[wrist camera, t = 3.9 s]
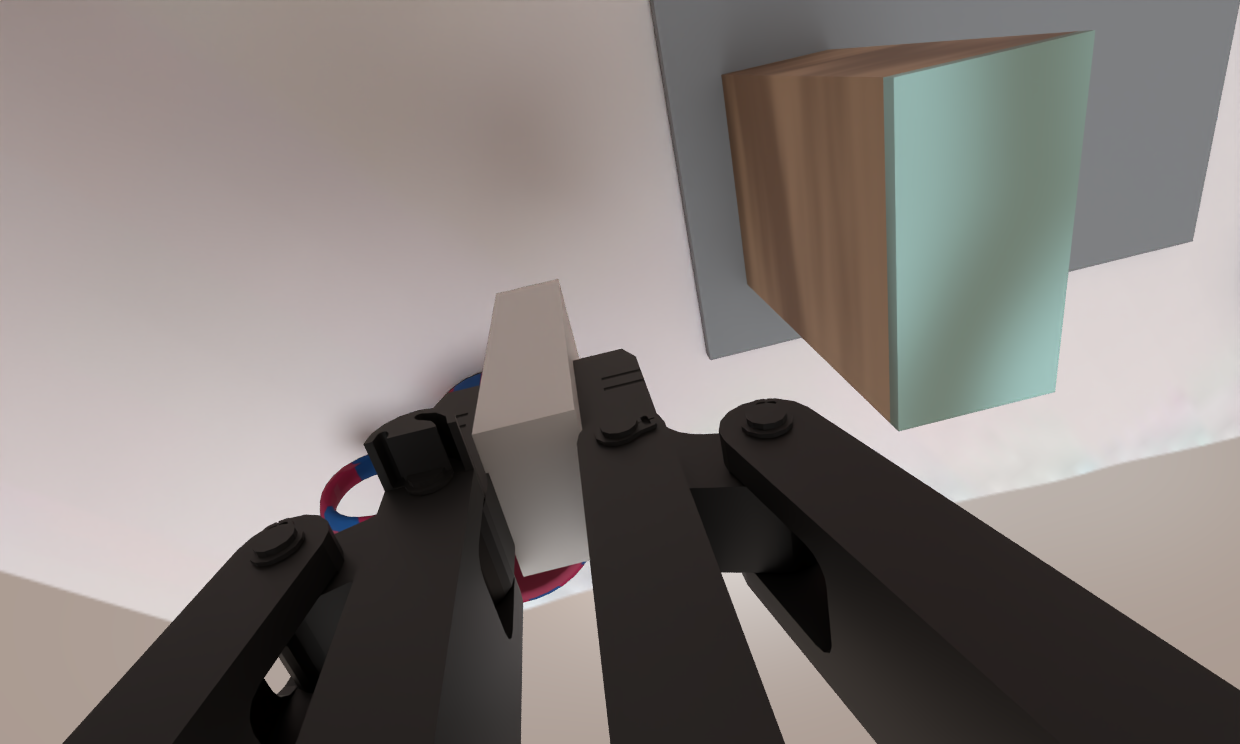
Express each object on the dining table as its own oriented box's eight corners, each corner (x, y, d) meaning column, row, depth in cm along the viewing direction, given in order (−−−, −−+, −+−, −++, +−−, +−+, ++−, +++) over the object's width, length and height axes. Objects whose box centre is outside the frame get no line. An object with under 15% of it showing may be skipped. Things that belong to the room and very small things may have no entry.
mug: (572, 501, 31) (583, 608, 24) (351, 489, 29) (304, 602, 23) (591, 374, 28) (609, 460, 22) (349, 353, 26) (295, 440, 20)
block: (747, 284, 26) (898, 431, 16) (721, 74, 23) (893, 77, 12) (840, 261, 26) (1055, 391, 16) (829, 49, 23) (1096, 29, 12)
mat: (706, 354, 28) (710, 359, 28) (648, -7, 22) (651, -9, 21) (1179, 238, 29) (1192, 241, 28) (1252, -145, 23) (1270, -151, 22)
